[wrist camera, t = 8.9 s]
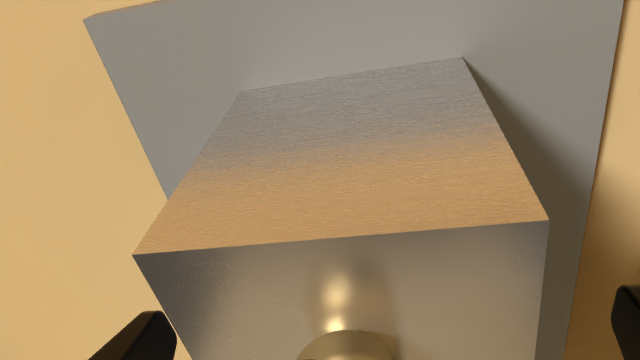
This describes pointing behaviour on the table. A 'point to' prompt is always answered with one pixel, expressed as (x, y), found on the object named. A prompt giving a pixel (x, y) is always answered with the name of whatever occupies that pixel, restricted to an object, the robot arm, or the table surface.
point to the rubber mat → (377, 53)
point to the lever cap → (354, 226)
